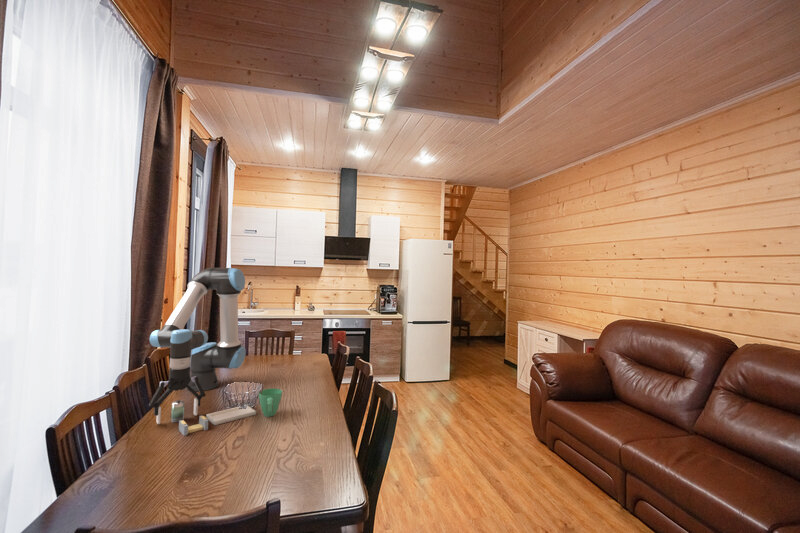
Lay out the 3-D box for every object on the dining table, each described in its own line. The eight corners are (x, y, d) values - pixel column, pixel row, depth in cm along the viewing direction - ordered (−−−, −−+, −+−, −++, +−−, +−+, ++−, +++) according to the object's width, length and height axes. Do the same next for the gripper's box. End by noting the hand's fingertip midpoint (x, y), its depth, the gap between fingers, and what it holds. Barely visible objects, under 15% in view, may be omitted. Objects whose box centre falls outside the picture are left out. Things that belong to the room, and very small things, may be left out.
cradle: (178, 429, 141) (179, 419, 141) (202, 424, 147) (202, 414, 147) (184, 435, 136) (184, 425, 136) (208, 429, 142) (208, 419, 142)
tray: (206, 418, 153) (206, 414, 153) (246, 408, 165) (246, 404, 165) (214, 425, 146) (214, 421, 146) (255, 414, 158) (255, 411, 158)
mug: (258, 411, 162) (259, 389, 162) (281, 409, 165) (281, 387, 165) (256, 424, 148) (257, 400, 148) (281, 422, 151) (282, 398, 151)
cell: (169, 420, 149) (170, 400, 150) (181, 417, 153) (182, 398, 153) (172, 423, 146) (173, 403, 147) (185, 420, 150) (186, 401, 150)
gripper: (146, 374, 139) (143, 429, 138) (214, 364, 156) (212, 413, 156) (141, 370, 144) (139, 423, 143) (208, 361, 162) (206, 408, 161)
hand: (177, 418), depth 150 cm, fingers open, 13 cm apart
